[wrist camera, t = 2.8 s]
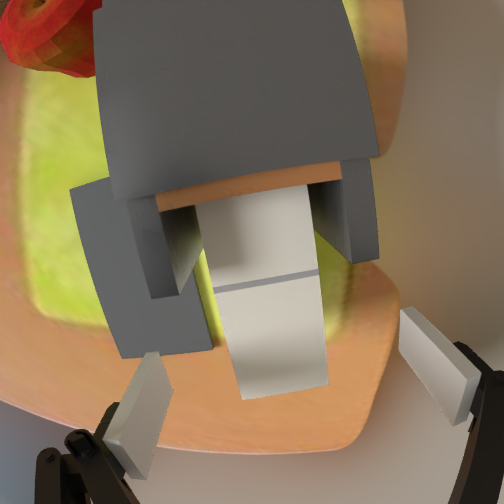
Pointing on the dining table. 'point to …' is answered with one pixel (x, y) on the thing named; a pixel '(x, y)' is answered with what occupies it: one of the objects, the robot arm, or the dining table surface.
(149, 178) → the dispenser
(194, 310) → the mat
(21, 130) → the dining table surface
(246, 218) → the white rectangular block
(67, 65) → the apple
